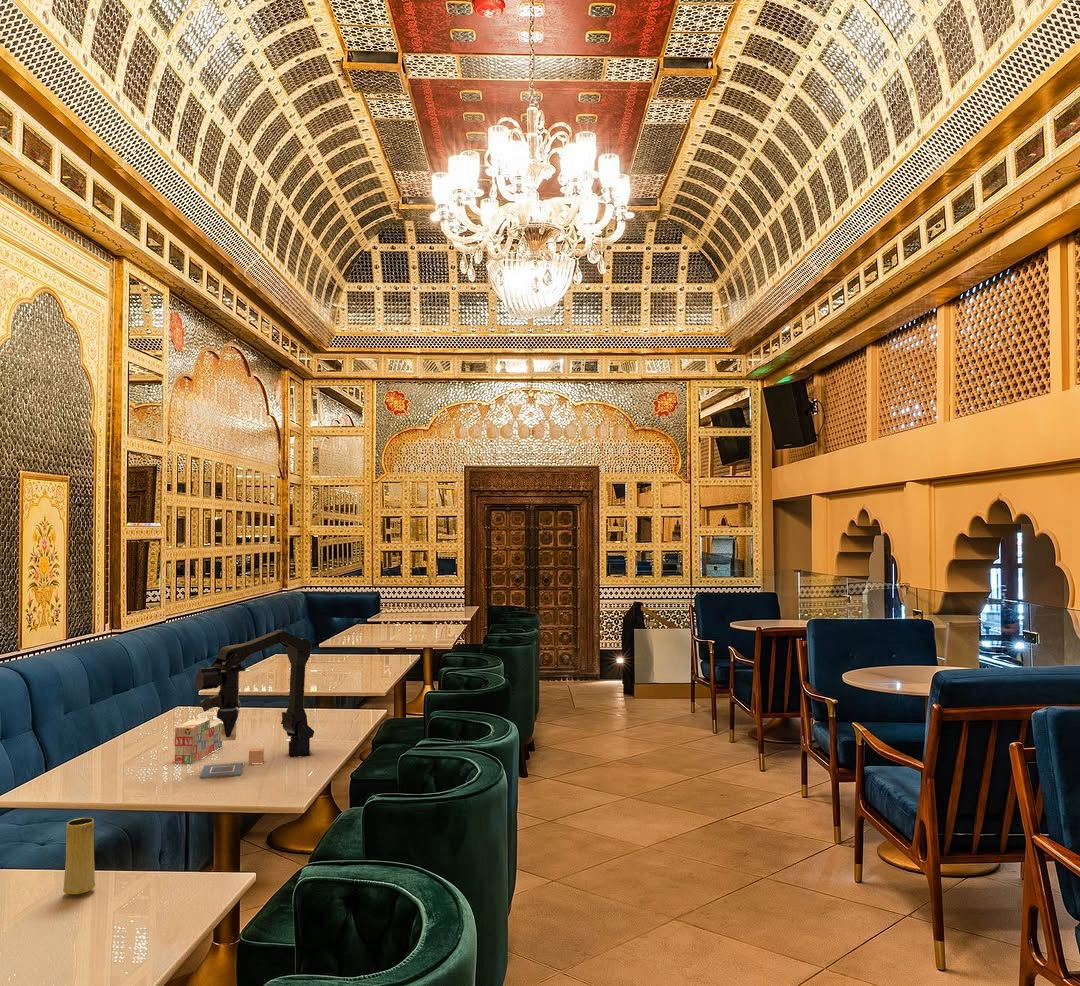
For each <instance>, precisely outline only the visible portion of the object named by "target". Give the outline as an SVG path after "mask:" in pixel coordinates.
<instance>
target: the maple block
mask: <svg viewBox="0 0 1080 986" xmlns="http://www.w3.org/2000/svg"><path fill="white" fill-rule="evenodd" d="M236 740H237V722H236V723H235V725H234V728H233V730H232V733H231V735H230V737H226V734H225V729H224V725H223V724H221V739H220V741H222V742H223V741H224V742H225V741H229V742H230V741H236Z"/></svg>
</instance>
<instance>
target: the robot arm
mask: <svg viewBox="0 0 1080 986" xmlns="http://www.w3.org/2000/svg"><path fill="white" fill-rule="evenodd" d="M278 644H279V645H281V647H283V648H285V649H286V654H287V658H288V660H289V663H290V671H289V672H290V674H289V675H290V676H289V692H288V693H289V695H288V707H287V709H286V711H282V712H281V721H280V724H281V725H282V729H283V730H284V731H285V732H286V735H287V737H290V740H289V741H288V755H289V758H299V757H298V756H302V757H310V756H311V751H310V750H311V747H310V745H311V742H310V741H311V740H310V739H312V738H313V737H314V734H315V731H314V729H312V728H311V726H309V725H308V715H307V713H306V711H305V708H304V705H305V704H304V702H305V701H304V700H305V684H306V683H305V682H306V664H307V663H308V660H310V657H311V652H312V643H311V642H310V640H309V639H306V638H302V637H298V636H296V635H293V634H292V633H289V632H287V630H284V629H276V630H275V629H274V631H272V632H270V633H266V634H265V635H262V636H259V637H257V638H254V639H251V640H249V641H247V642H244V643H238V644H237V643H236V644H232V645H226V646H223V647H221V648H220V649H219V651H218V652H217V653H218V654H217V657H215V659H214V661H213V662H212V663H211V665H210V667H199V668H198V672H197V673H196V675H195V678H194V684H195V685H194V686H195V688H196V689H197V690H198V691H204V690H211V689H212V690H213V689H217V688H219V689H218V693H217V694H214V695H211V696H208V697H205V698H204V699H202V700H200V705H201V708H202V712H209V710H211V709H214V708H216V707H217V708H218V709H217V711H216V712H217V715H216V717H217V718H218V719H220V720H221V721H222V722H223V725H224V729H225V734H226V737H230V735H231V733H232V730H233V728H234V725H235V723H236V724H237V721H238V717H239V713H240V710H239V709H240V708H241V700H240V698H239V695H240V694H239V692H240V673H241V672H245V671H246V670H247V669H246V668H245V667H244V666H243V665H242V664H241V663H243V662H245V661H246V660H247V659H248V658H249V657H250V656H252V655H253V654H257V653H259V652H262V651H265V650H266V649H268V648H272V647H274V646H276V645H278Z"/></svg>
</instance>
